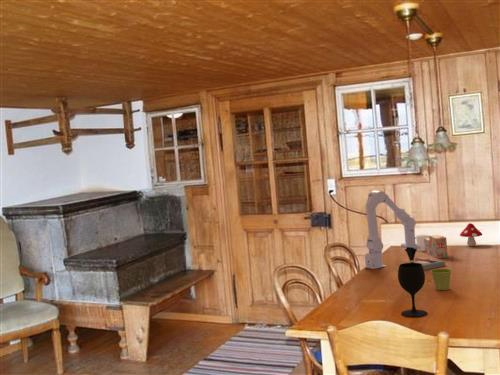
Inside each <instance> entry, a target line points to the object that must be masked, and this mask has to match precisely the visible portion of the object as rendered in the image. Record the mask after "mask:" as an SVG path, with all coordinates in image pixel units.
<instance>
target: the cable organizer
mask: <svg viewBox="0 0 500 375" xmlns="http://www.w3.org/2000/svg"><path fill="white" fill-rule="evenodd" d="M414 262H415V260H413V261H412V263H414ZM422 266H423V269H424V271H426V270H432V269H437V268H439V267H444V266H446V261H445V260H435V259H430V264H426V265H422Z"/></svg>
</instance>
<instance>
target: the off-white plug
mask: <svg viewBox="0 0 500 375" xmlns="http://www.w3.org/2000/svg"><path fill="white" fill-rule="evenodd" d="M414 261H415V260H414ZM414 263H420V264H422V265H426V264H430V262H425V261H415V262H414Z"/></svg>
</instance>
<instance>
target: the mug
mask: <svg viewBox="0 0 500 375" xmlns="http://www.w3.org/2000/svg"><path fill="white" fill-rule="evenodd" d="M429 236H430V234H428V233H426V234H425V233H424V234H423V233H422V234H421V233H420V234H415V242H416V244H417V245H419V246H421V249H419V250H418V249H417V251H418V252H425V242H424V239H425V238H429ZM417 251H416V252H417Z"/></svg>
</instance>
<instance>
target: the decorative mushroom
mask: <svg viewBox="0 0 500 375" xmlns="http://www.w3.org/2000/svg"><path fill="white" fill-rule="evenodd" d="M459 236H460V237H463V238H467V243H466V244H467V246H468V247H475V246H476V245H477V242H476V237H477V238H478V237H481V236H483V233H482V232H481V231H480V229H478V228H477V227H476V226H475V224H473V223H471V222H470V223H468V224H466V226H465V228H464V229H462V231H461V232H460V234H459Z"/></svg>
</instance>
